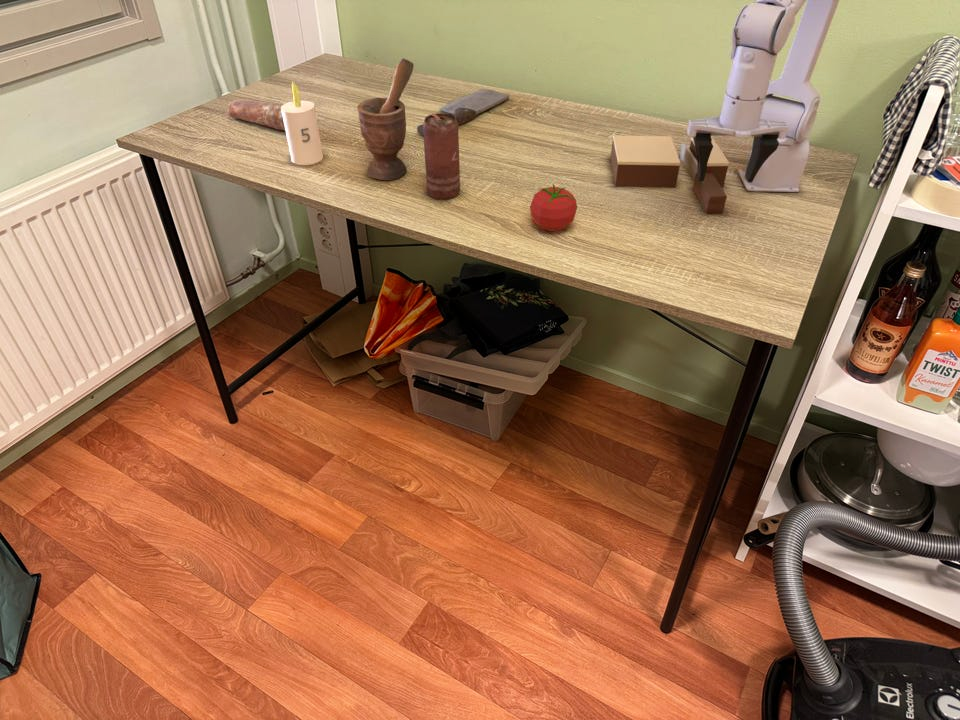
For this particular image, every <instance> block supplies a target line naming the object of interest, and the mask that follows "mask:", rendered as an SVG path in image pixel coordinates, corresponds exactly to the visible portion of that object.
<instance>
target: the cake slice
mask: <svg viewBox="0 0 960 720" xmlns="http://www.w3.org/2000/svg"><path fill="white" fill-rule="evenodd" d="M711 138H712V141H711V142H712V145H713V149H712V151H711V154H710V157H709V160H708V163H707V168H706V173H712V174H713V175H714V177H715V178H716V180H717V181H718V183H719V184H720V186H721V188H722V189H723V188H724V187H725V182H726V178H727V173H728V170H729V166H730V162H729V160H728V159H727V158H726V156H725V154H724V152H723V151H722V149H721V148H720V146H719V145H718V143H717V142H716V140H715V139H714V137H713V136H711ZM689 149H690V151H691V152H692V154H693V155H694V157H695V159H696V160H697V154H696V148H695V143H694V139H693V137H690V144H689Z"/></svg>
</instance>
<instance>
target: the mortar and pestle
mask: <svg viewBox="0 0 960 720" xmlns="http://www.w3.org/2000/svg"><path fill="white" fill-rule="evenodd" d="M413 71H414V63H413V61H410V60H409V59H406V58H401V59H400V60H399V61H398V63H397V65H396V68H395V71H394V74H393V79H392V83H391V86H390V89H389V94H388V96H387V97H372V98H367V99H365V100H363V101H361V102H359V103H358V104H357V105H356V109H357V114H358V122H359V129H360V134H361V137H362V138H363V140H364V145H365V148H366V149H367V151H369V153H371V154H372V155H373V159H372V160H371V161H370V162H369V163H368V165H367V174H368V175H367V176H368V177H369V178H371V179H374V180H379V181H393V180H397V179H399V178H401V177H403V176H404V175H405V174H406V172H407V167H406V165H405V163H404V162H403V160H402V159H401V158H400V157H398V154H399V152H400V151H401V150H402V148H403V147H404V144H405V139H406V134H407V120H406V119H407V117H406V106H405V103H404V102H403V101H402V100H400V99H401V97H402V94H403V92H404V90H405V88H406V86H407V84H408V83H409V81H410V78H411V76H412V73H413Z"/></svg>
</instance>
